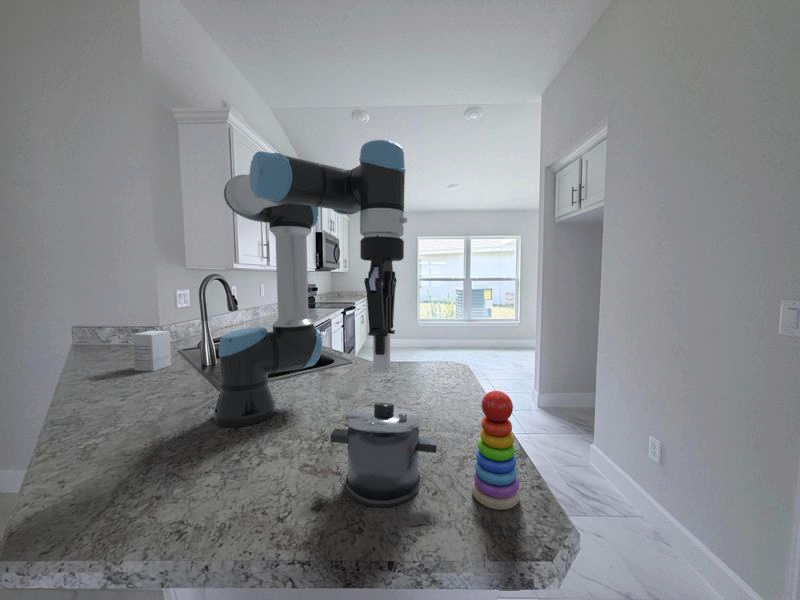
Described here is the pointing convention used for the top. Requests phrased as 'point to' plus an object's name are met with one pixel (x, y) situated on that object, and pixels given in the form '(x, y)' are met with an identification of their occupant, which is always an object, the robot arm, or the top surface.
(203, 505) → the top surface
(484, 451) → the stacking toy
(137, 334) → the supplement box
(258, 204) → the robot arm
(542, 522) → the top surface
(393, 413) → the lid
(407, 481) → the pot
